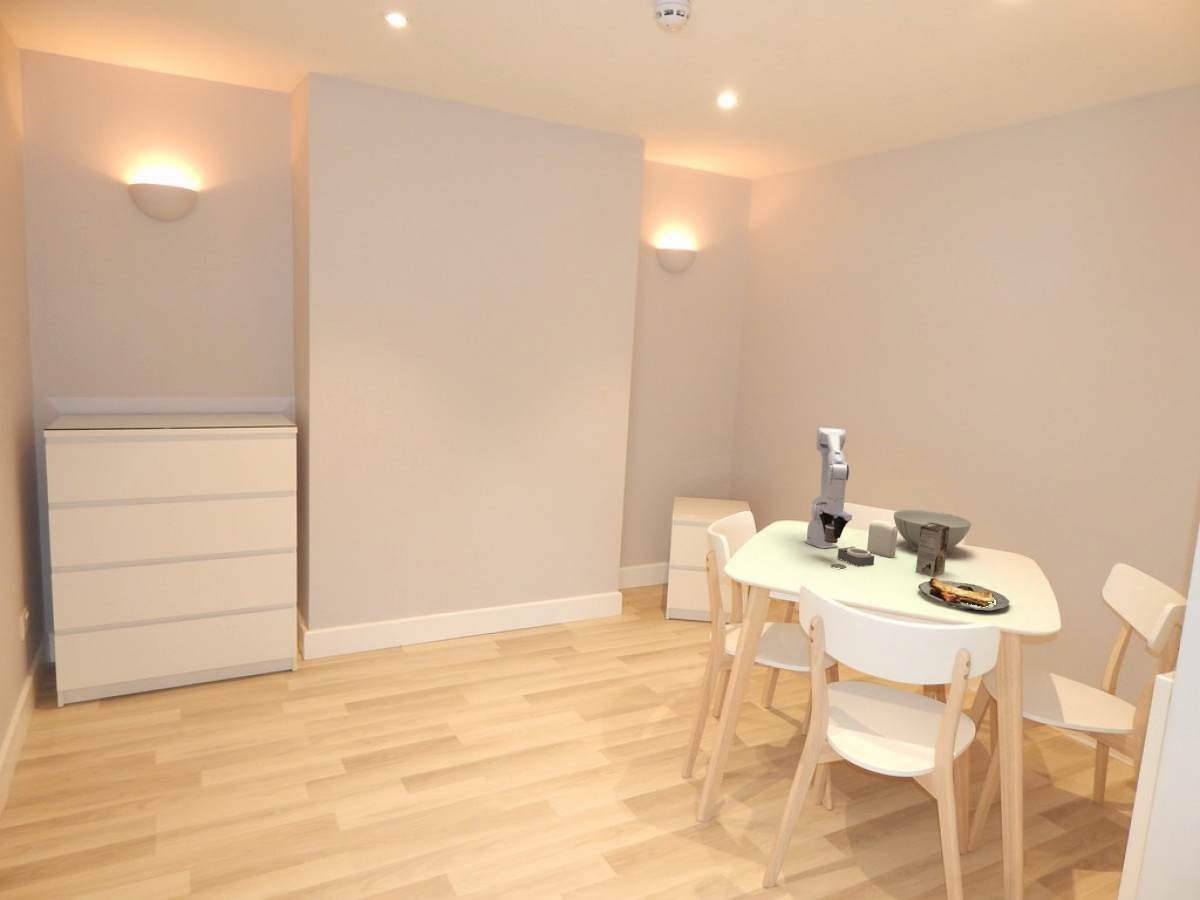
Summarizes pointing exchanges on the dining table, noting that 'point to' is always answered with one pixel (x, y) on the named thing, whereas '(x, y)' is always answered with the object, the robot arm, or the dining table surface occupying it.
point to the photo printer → (882, 538)
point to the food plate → (963, 594)
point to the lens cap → (838, 566)
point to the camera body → (856, 556)
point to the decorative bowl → (914, 519)
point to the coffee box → (932, 549)
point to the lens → (830, 533)
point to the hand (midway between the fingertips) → (832, 535)
